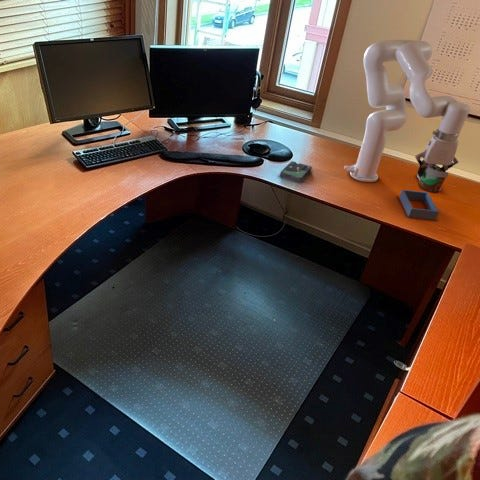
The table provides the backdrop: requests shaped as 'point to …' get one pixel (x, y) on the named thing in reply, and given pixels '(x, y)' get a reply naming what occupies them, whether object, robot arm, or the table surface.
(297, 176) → the disk drive
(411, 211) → the rectangular frame
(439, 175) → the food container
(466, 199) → the table surface
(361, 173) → the robot arm
